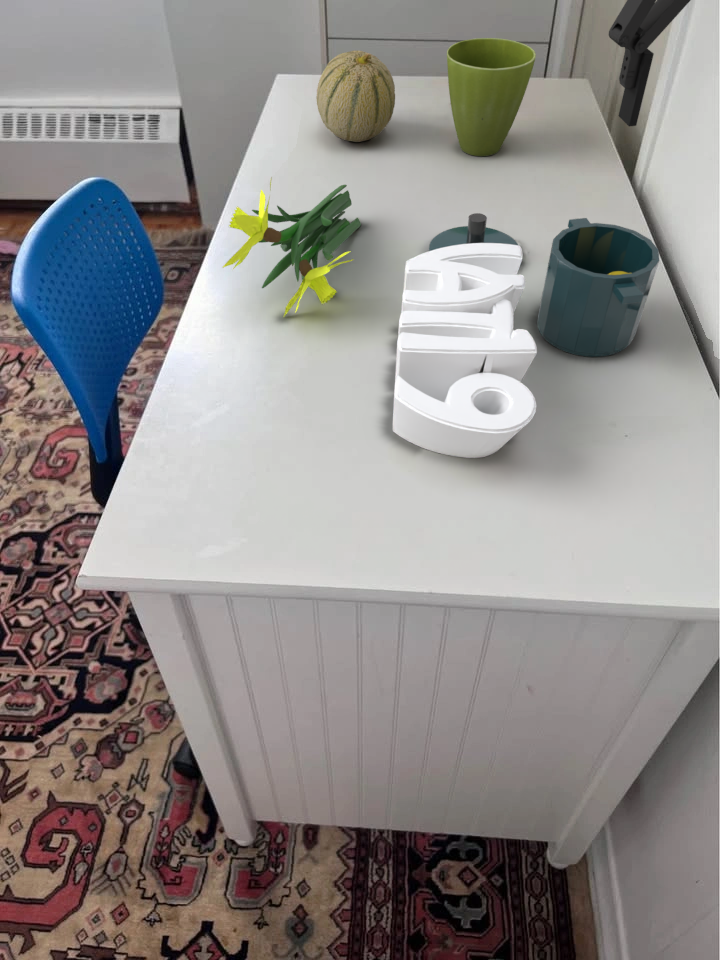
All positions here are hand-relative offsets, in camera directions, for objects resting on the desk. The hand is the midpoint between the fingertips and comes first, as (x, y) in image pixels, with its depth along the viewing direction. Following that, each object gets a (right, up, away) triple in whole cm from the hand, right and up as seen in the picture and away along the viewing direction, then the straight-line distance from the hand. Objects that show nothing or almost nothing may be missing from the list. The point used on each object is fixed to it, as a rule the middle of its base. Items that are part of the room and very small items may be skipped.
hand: (690, 115), depth 73 cm
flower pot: (-11, +24, +60) cm, 66 cm away
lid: (-17, -3, +35) cm, 38 cm away
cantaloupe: (-34, +28, +64) cm, 78 cm away
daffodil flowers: (-42, -7, +33) cm, 53 cm away
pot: (-4, -17, +23) cm, 29 cm away
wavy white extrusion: (-22, -24, +16) cm, 37 cm away
